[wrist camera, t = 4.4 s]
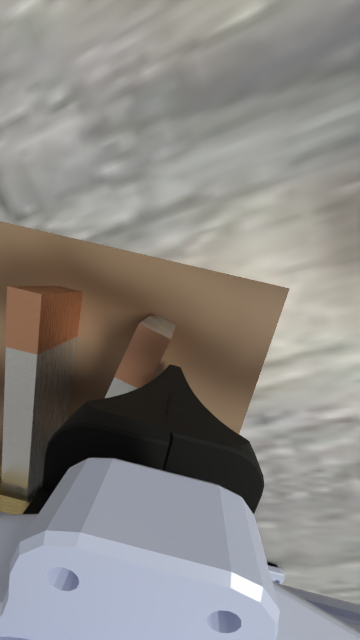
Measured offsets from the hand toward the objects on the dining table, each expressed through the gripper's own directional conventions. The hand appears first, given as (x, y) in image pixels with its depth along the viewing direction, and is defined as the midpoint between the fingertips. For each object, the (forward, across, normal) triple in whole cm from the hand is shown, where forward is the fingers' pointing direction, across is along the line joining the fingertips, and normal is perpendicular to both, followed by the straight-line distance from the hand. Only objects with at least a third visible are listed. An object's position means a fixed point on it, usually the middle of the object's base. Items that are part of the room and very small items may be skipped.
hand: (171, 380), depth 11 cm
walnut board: (+2, +4, +4) cm, 6 cm away
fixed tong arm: (+1, +6, +5) cm, 8 cm away
